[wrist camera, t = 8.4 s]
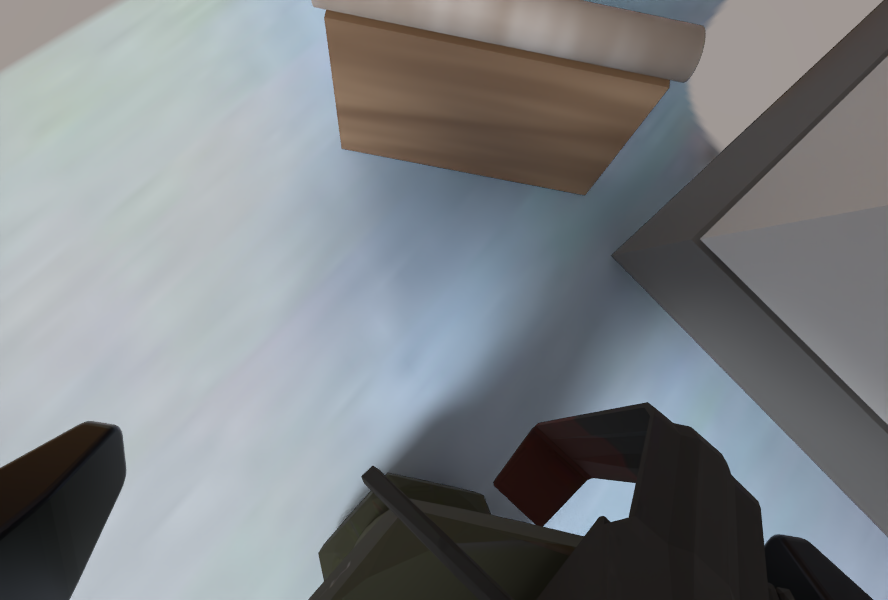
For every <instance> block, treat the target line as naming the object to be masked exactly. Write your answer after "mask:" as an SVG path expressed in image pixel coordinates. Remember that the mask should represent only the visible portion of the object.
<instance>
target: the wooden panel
mask: <svg viewBox="0 0 888 600" xmlns="http://www.w3.org/2000/svg"><path fill="white" fill-rule="evenodd" d="M312 4H313V6H314V7H316V8H321V9H326V13H325V17H324V19H325V26H326V34H327V41H328V49H329V56H330V64H331V71H332V79H333V86H334V94H335V102H336V109H337V117H338V124H339V132H340V139H341V147H342V149H346V150H352V151H357V152H362V153H367V154H372V155H378V156H383V157H388V158H393V159H398V160H404V161H409V162H414V163H419V164H424V165H430V166H435V167H440V168H445V169H450V170H456V171H461V172H466V173H471V174H476V175H482V176H487V177H492V178H497V179H502V180H508V181H513V182H518V183H523V184H528V185H534V186H539V187H544V188H549V189H555V190H560V191H565V192H570V193H575V194H581V195H586V194H587V192H588V191H589V190H590V189H591V187H592V186H593V185H594V183H595V182H596V181H597V180H598V178H599V177H600V176H601V174H602V173H603V172H604V171H605V169H606V168H607V167H608V166H609V164H610V163H611V162H612V160H613V159H614V158H615V157H616V155H617V154H618V153H619V151H620V150H621V149H622V148H623V146H624V145H625V144H626V142H627V141H628V140H629V139H630V137H631V136H632V135H633V134H634V132H635V131H636V130H637V128H638V127H639V126H640V125H641V123H642V122H643V121H644V119H645V118H646V117H647V116H648V114H649V113H650V112H651V110H652V109H653V108H654V107H655V105H656V104H657V103H658V102H659V100H660V99H661V98H662V96H663V95H664V94H665V93H666V91H667V90H668V89H669V84H670V80H673V81H678V82H686V81H687V80H688V79H689V78H690V77H691V76H692V74H693V73H694V71H695V69H696V67H697V65H698V63H699V61H700V58H701V55H702V52H703V48H704V43H705V28H704V27H703V26H702V25H697V24H692V23H687V22H683V21H678V20H673V19H668V18H664V17H659V16H654V15H649V14H645V13H640V12H635V11H630V10H626V9H621V8H616V7H611V6H607V5H602V4H597V3H592V2H588V1H583V0H312Z"/></svg>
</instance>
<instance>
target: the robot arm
mask: <svg viewBox="0 0 888 600" xmlns="http://www.w3.org/2000/svg"><path fill="white" fill-rule="evenodd" d="M125 477H126V462H125V453H124V444H123V435H122V431H121V429H120V428H119V427H118V426H116V425H113V424H107V423H101V422H94V421H87V422H84V423H81V424H79V425H77V426H76V427H74V428H72V429H70V430H68V431H66V432H65V433H63V434H61V435H59V436H57V437H56V438H54V439H52V440H50V441H48V442H46V443H45V444H43V445H41V446H39V447H37V448H36V449H34V450H32V451H30V452H28V453H26V454H25V455H23V456H21V457H19V458H17V459H16V460H14V461H12V462H10V463H8V464H6V465H5V466H3V467H1V468H0V600H69V599H70V598H71V596H72V594H73V592H74V590H75V588H76V586H77V584H78V582H79V579H80V577H81V575H82V573H83V571H84V569H85V567H86V564H87V562H88V560H89V558H90V556H91V554H92V552H93V549H94V547H95V545H96V543H97V541H98V539H99V537H100V534H101V532H102V530H103V528H104V526H105V524H106V521H107V519H108V517H109V515H110V513H111V511H112V509H113V506H114V504H115V502H116V500H117V498H118V496H119V493H120V491H121V489H122V487H123V484H124V481H125ZM764 549H765V559H766V570H767V581H768V583H770V584H772V585H773V586H774V588H775V589H776V588H777V587H780V588H784V589H789V590H790V592H791V593H792V595H793V597H794V599H795V600H873V599H872V598H871V597H870V596H869V595H868V594H866V593H865V592H864V591H863V590H862V589H861V588H860V587H859V586H858V585H857V584H855V583H854V582H853V581H852V580H851V579H850V578H849V577H848V576H847V575H845V574H844V573H843V572H842V571H841V570H840V569H839V568H838V567H837V566H835V565H834V564H833V563H832V562H831V561H830V560H829V559H828V558H827V557H826V556H824V555H823V554H822V553H821V552H820V551H819V550H818V549H817V548H816V547H814V546H813V545H812V544H811V543H810V542H809V541H807V540H805V539H802V538H798V537H792V536H786V535H780V534H778V535H774V536H772V537H771V538H770V539H769V540H768V541H767V543H766V544H765V545H764Z"/></svg>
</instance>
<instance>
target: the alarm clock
mask: <svg viewBox="0 0 888 600" xmlns="http://www.w3.org/2000/svg"><path fill="white" fill-rule="evenodd" d="M611 256H612V257H613V258H614V259H615V260H616V261H617V262H618V263H619V264H620V265H621V266H622V267H623V268H624V269H625V270H626V271H627V272H628V273H629V274H630V275H631V276H632V277H633V278H634V279H635V280H636V281H637V282H638V283H639V284H640V285H641V286H642V287H643V288H644V289H645V290H646V292H647V293H648V294H649V295H650V296H651V297H652V298H653V299H654V300H655V301H656V302H657V303H658V304H659V305H660V306H661V307H662V308H663V309H664V310H665V311H666V312H667V313H668V314H669V315H670V316H671V317H672V318H673V319H674V320H675V321H676V322H677V323H678V324H679V325H680V326H681V327H682V328H683V329H684V330H685V331H686V332H687V333H688V334H689V335H690V336H691V337H692V338H693V339H694V340H695V341H696V342H697V343H698V344H699V345H700V346H701V347H702V348H703V350H704V351H705V352H706V353H707V354H708V355H709V356H710V357H711V358H712V359H713V360H714V361H715V362H716V363H717V364H718V365H719V366H720V367H721V368H722V369H723V370H724V371H725V372H726V373H727V374H728V375H729V376H730V377H731V378H732V379H733V380H734V381H735V382H736V383H737V384H738V385H739V386H740V387H741V388H742V389H743V390H744V391H745V392H746V393H747V394H748V395H749V396H750V397H751V398H752V399H753V400H754V401H755V402H756V403H757V404H758V405H759V406H760V408H761V409H762V410H763V411H764V412H765V413H766V414H767V415H768V416H769V417H770V418H771V419H772V420H773V421H774V422H775V423H776V424H777V425H778V426H779V427H780V428H781V429H782V430H783V431H784V432H785V433H786V434H787V435H788V436H789V437H790V438H791V439H792V440H793V441H794V442H795V443H796V444H797V445H798V446H799V447H800V448H801V449H802V450H803V451H804V452H805V453H806V454H807V455H808V456H809V457H810V458H811V459H812V460H813V461H814V462H815V463H816V464H817V466H818V467H819V468H820V469H821V470H822V471H823V472H824V473H825V474H826V475H827V476H828V477H829V478H830V479H831V480H832V481H833V482H834V483H835V484H836V485H837V486H838V487H839V488H840V489H841V490H842V491H843V492H844V493H845V494H846V495H847V496H848V497H849V498H850V499H851V500H852V501H853V502H854V503H855V504H856V505H857V506H858V507H859V508H860V509H861V510H862V511H863V512H864V513H865V514H866V515H867V516H868V517H869V518H870V519H871V520H872V521H873V523H874V524H875V525H876V526H877V527H878V528H879V529H880V530H881V531H882V532H883V533H884V534H885V535H886V536H887V537H888V0H883V1H882V2H881V3H880V4H879V5H878V6H877V7H876V8H875V9H874V10H873V11H872V12H870V13H869V14H868V15H867V16H866V17H865V18H864V19H863V20H862V21H861V22H860V23H859V24H858V25H857V26H856V27H855V28H853V29H852V30H851V31H850V32H849V33H848V34H847V35H846V36H845V37H844V38H843V39H842V40H840V42H838V43H837V44H836V45H835V46H834V47H833V48H832V49H831V50H830V51H829V52H828V53H827V54H825V56H823V57H822V58H821V59H820V60H819V61H818V62H817V63H816V64H815V65H814V66H813V67H812V68H810V69H809V70H808V71H807V72H806V73H805V74H804V75H803V76H802V77H801V78H800V79H799V80H798V81H797V82H795V83H794V84H793V85H792V86H791V87H790V88H789V89H788V90H787V91H786V92H785V93H784V94H783V95H782V96H781V97H779V98H778V99H777V100H776V101H775V102H774V103H773V104H772V105H771V106H770V107H769V108H768V109H767V110H765V111H764V112H763V113H762V114H761V115H760V116H759V117H758V118H757V119H756V120H755V121H754V122H753V123H752V124H751V125H749V126H748V127H747V128H746V129H745V130H744V131H743V132H742V133H741V134H740V135H739V136H738V137H737V138H735V139H734V140H733V141H732V142H731V143H730V144H729V145H728V146H727V147H726V148H725V149H724V150H723V151H722V153H720V154H719V155H718V156H717V157H716V158H715V159H714V160H713V161H712V162H711V163H710V164H709V165H708V166H707V167H705V168H704V169H703V170H702V171H701V172H700V173H699V174H698V175H697V176H696V177H695V178H694V179H693V180H692V181H690V182H689V183H688V184H687V185H686V186H685V187H684V188H683V189H682V190H681V191H680V192H679V193H678V194H677V195H675V196H674V197H673V198H672V199H671V200H670V201H669V202H668V203H667V204H666V205H665V206H664V207H663V208H662V209H660V210H659V211H658V212H657V213H656V214H655V215H654V216H653V217H652V218H651V219H650V220H649V221H648V222H647V223H645V224H644V225H643V226H642V227H641V228H640V229H639V230H638V231H637V232H636V233H635V234H634V235H633V236H632V237H630V238H629V239H628V240H627V241H626V242H625V243H624V244H623V245H622V246H621V247H620V248H619V249H618V250H617V251H615V252H614V253H613V254H612V255H611Z"/></svg>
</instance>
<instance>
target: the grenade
mask: <svg viewBox="0 0 888 600" xmlns="http://www.w3.org/2000/svg"><path fill="white" fill-rule="evenodd" d="M591 478H598V479H606V480H615V481H623V482H632V483H636V485H635V490H634V495H633V499H632V504H631V509H630V514H629V518H625V519H621V520H618V521H614V522H610V521H609V520H608V519H607V518H606V517H604V516H601V517H599V518H598V519H597V521H596V522H595V523H594V524H593V526H592V527H591V528H590V530H589V531H588V532H587V534H586V535H585V536H580V535H575V534H571V533H567V532H563V531H559V530H554V529H550V528H546V527H543V526H544V525H545V524H546V523H547V522H548V521H549V520H550V519H551V517H552V516H553V515H554V514H555V513H556V512H557V511H558V510H559V509H560V508H561V507H562V506H563V505H564V504H565V503H566V502H567V501H568V500H569V499H570V498H571V497H572V495H573V494H574V493H575V492H576V491H577V490H578V489H579V488H580V487H581V486H582V485H583V484H584V483H585V482H586V481H587V480H589V479H591ZM362 479H363V482H364V484H365V485H366V486H367V487H368V488H369V489H370V490H371V492H370V493H369V494H368V495H367V496H366V497H365V498H364V499H363V500H362V502H361V503H360V504H359V505H358V506H357V507H356V508H355V509H354V511H353V512H352V513H351V514H350V515H349V516H348V517H347V518H346V520H345V521H344V522H343V523H342V524H341V525H340V526H339V528H338V529H337V530H336V531H335V532H334V533H333V534H332V536H331V537H330V538H329V539H328V540H327V541H326V542H325V544H324V545H323V547H322V548H321V550H320V552H319V553H318V554H319V559H320V564H321V568H322V573H323V578H324V582H323V583H322V584H321V586H320V587H319V588H318V589H317V590H316V591H315V593H314V594H313V595H312V596H311V597H310V598H309V599H308V600H795V599H794V597H793V595H792V593H791V592H790V590H789V589H784V588H780V587H777V588H776V589H775V588H774V586H773V585H772V584H770V583H768V581H767V570H766V559H765V549H764V538H763V528H762V517H761V508H760V505H759V502H758V500H756V499H755V498H754V497H753V496H752V495H751V494H750V493H749V492H748V491H747V490H746V489H745V488H744V487H743V486H742V485H741V484H740V483H739V482H738V481H737V480H736V479H735V478H734V477H733V476H732V475H731V473H730V470H729V467H728V464H727V462H726V460H725V459H724V457H723V455H722V454H721V453H720V452H719V451H718V450H717V449H716V448H714V447H713V446H712V445H711V444H710V443H709V442H708V441H706V440H705V439H704V438H703V437H702V436H701V435H700V434H698V433H697V432H696V431H695V430H694V429H693V428H692V427H689V426H684V425H679V424H675V423H672V422H671V421H670V420H669V419H668V418H667V417H665V416H664V415H663V414H662V413H661V412H659V411H658V410H657V409H656V408H655V407H653V406H652V405H651V404H649V403H648V402H646V403H641V404H636V405H630V406H625V407H620V408H615V409H609V410H604V411H599V412H593V413H588V414H583V415H578V416H572V417H567V418H562V419H556V420H551V421H546V422H541V423H538V424H537V425H536V426H535V427H534V428H533V429H532V430H531V431H530V432H529V434H528V435H527V436H526V438H525V439H524V441H523V442H522V443H521V445H520V446H519V447H518V449H517V450H516V451H515V453H514V454H513V456H512V457H511V458H510V460H509V461H508V462H507V464H506V465H505V467H504V468H503V469H502V471H501V472H500V473H499V475H498V476H497V478H496V479H495V480H494V482H493V484H494V486H495V487H496V488H497V489H498V490H499V491H500V492H501V493H502V494H503V495H504V496H505V497H507V498H508V499H509V500H510V501H511V502H512V503H513V504H514V505H515V506H516V507H517V508H518V509H519V510H520V511H522V512H523V513H524V514H525V515H526V516H527V517H528V518H529V519H530V520H531V521H532V522H533V523H534V524H535V525H533V524H529V523H525V522H520V521H516V520H511V519H507V518H502V517H498V516H493V515H491V514H490V511H489V509H488V506H487V503H486V501H485V498H484V495H481V494H479V493H476V492H473V491H468V490H464V489H460V488H456V487H452V486H447V485H443V484H438V483H434V482H429V481H425V480H420V479H415V478H411V477H406V476H401V475H396V474H392V473H387V474H386V475H384V474H383V473H382V472H381V471H380V470H379V469H377V468H376V467H374V466H372V467H371V468H370V469H369V470H368V471H367V472H365V473H364V474H363V475H362Z"/></svg>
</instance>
